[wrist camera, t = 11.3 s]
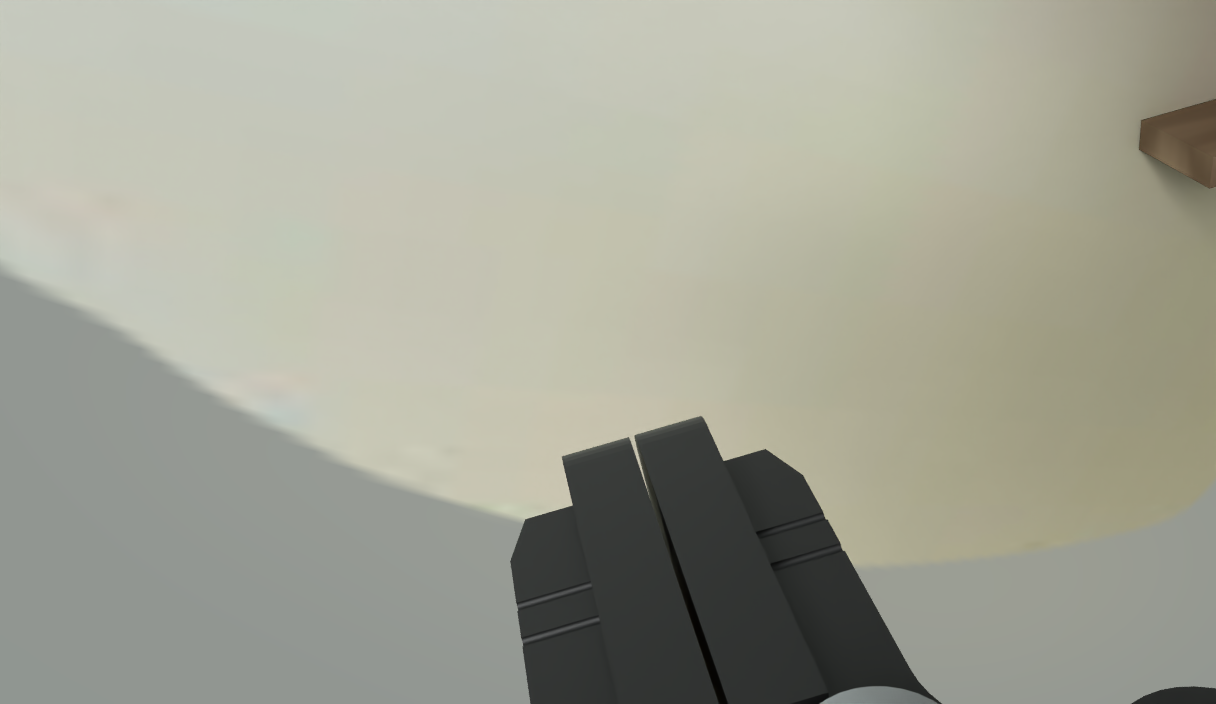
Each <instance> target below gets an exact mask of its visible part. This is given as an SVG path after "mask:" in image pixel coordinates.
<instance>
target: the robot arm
mask: <svg viewBox="0 0 1216 704" xmlns="http://www.w3.org/2000/svg"><path fill="white" fill-rule="evenodd" d="M635 441H636V446H637V450H638V454H639V458H640V462H641V466H642V469H643V473H644V477H645V481H646V485H647V489H648V492H647V489H646V486H645V483H644V480H643V477H642V474H641V471H640V468H639V465H638V462H637V459H636V456H635V453H634V450H633V447H632V444H631V441H630V439H629V437H628V438H624V439H621V440H617V441H614V442H611V443H607V444H604V445H600V446H597V447H593V448H590V449H586V450H583V451H579V452H576V453H572V454H569V455H566V456H562V460H563V465H564V469H565V473H566V478H567V482H568V486H569V491H570V495H571V499H572V503H573V506H570V507H566V508H563V509H559V510H556V511H553V512H549V513H546V514H542V515H539V516H535V517H532V518H529V519H525V522H524V525H523V527H522V530H521V533H520V536H519V539H518V541H517V544H516V547H515V550H514V553H513V555H512V558H511V561H510V562H511V568H512V575H513V583H514V590H515V596H516V603H517V606H518V618H519V625H520V632H521V638H522V641H523V653H524V660H525V668H526V675H527V682H528V689H529V695H530V703H531V704H941V703H940V702H939V701H938V700H937V699H935V698H934V697H933V696H932V695H931V694H929V693H928V692H927V690H926V689H925V688H924V687H923V686H922V685H921V684H920V683H919V682H918V680H917V679H916V677H915V676H914V674H913V673H912V671H911V670H910V668H909V666H908V664H907V662H906V661H905V659H904V657H903V655H902V654H901V652H900V650H899V648H898V646H897V644H896V643H895V641H894V639H893V637H892V635H891V634H890V632H889V630H888V628H887V626H886V625H885V623H884V621H883V619H882V617H881V616H880V614H879V612H878V610H877V608H876V607H875V605H874V603H873V601H872V599H871V598H870V596H869V594H868V592H867V590H866V588H865V587H864V585H863V583H862V581H861V579H860V578H859V576H858V574H857V572H856V570H855V569H854V567H853V565H852V563H851V561H850V560H849V558H848V556H847V554H846V552H845V551H843V550H842V548H841V544H840V541H839V540H838V538H837V536H836V534H835V532H834V531H833V529H832V527H831V525H830V523H829V522H828V520H826V519H825V517H824V514H823V511H822V509H821V507H820V505H819V504H818V502H817V500H816V498H815V496H814V495H813V493H812V491H811V489H810V487H809V486H808V484H807V482H806V480H805V478H804V476H803V475H802V474H800V473H799V472H798V471H796V470H795V469H793V468H792V467H790V466H789V465H788V464H786V463H785V462H783V461H782V460H780V459H779V458H778V457H776V456H775V455H773V454H772V453H770V452H769V451H767V450H766V449H764V450H761V451H757V452H754V453H751V454H747V455H744V456H740V457H737V458H733V459H730V460H727V461H723V459H722V457H721V455H720V453H719V451H718V448H717V446H716V444H715V442H714V440H713V437H712V435H711V433H710V431H709V429H708V426H707V424H706V422H705V420H704V419H703V417H702V416H699V417H696V418H692V419H689V420H686V421H682V422H679V423H675V424H672V425H668V426H665V427H661V428H658V429H654V430H651V431H647V432H644V433H641V434H637V435H635ZM648 493H649V495H648ZM649 497H650V498H649ZM650 500H651V501H650ZM1132 704H1216V689H1215V688H1205V687H1176V688H1170V689H1164V690H1160V691H1157V692H1154V693H1151V694H1149V695H1146V696H1143V697H1142V698H1140V699H1138V700H1137V701H1135V702H1133V703H1132Z"/></svg>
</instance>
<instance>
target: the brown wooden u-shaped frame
mask: <svg viewBox="0 0 1216 704" xmlns="http://www.w3.org/2000/svg"><path fill="white" fill-rule="evenodd" d="M1139 150H1141V151H1143V152H1145V153H1147V154H1148V155H1150V156H1152V157H1154V158H1156V159H1157V160H1159V161H1161V162H1163V163H1165V164H1166V165H1168V166H1170V167H1172V168H1174V169H1175V170H1177V171H1179V172H1181V173H1183V174H1185V175H1186V176H1188V177H1190V178H1192V179H1194V180H1195V181H1197V182H1199V183H1201V184H1203V185H1204V186H1206V187H1208V188H1213V187H1216V99H1215V100H1212V101H1208V102H1204V103H1201V104H1197V105H1194V106H1190V107H1187V108H1183V109H1180V110H1176V111H1173V112H1169V113H1166V114H1162V115H1159V116H1155V117H1151V118H1148V119H1144V120H1142V121H1141V133H1140V145H1139Z"/></svg>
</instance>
